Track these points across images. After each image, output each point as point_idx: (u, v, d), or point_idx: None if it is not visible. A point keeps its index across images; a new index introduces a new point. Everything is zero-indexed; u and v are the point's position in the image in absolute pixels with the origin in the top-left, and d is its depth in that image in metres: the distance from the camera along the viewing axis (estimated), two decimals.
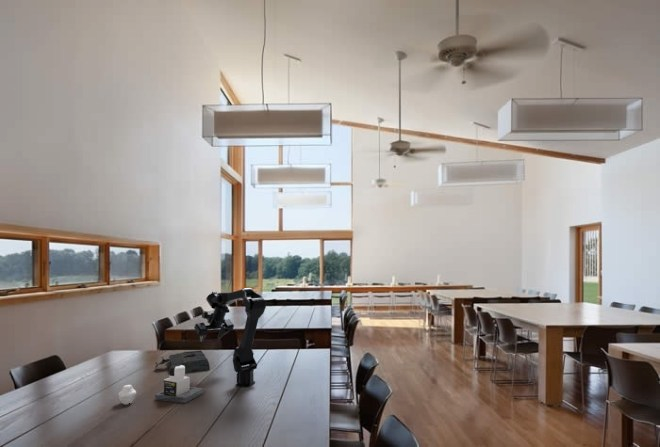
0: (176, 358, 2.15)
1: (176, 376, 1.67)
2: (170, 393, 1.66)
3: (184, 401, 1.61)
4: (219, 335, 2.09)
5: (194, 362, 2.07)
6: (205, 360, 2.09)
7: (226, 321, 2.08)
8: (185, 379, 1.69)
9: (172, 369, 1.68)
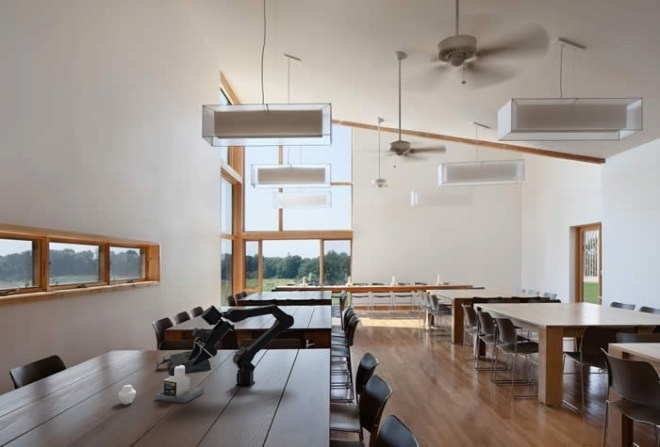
0: (177, 358, 2.15)
1: (176, 376, 1.67)
2: (170, 393, 1.66)
3: (184, 401, 1.61)
4: (192, 356, 1.78)
5: None
6: (206, 360, 2.10)
7: None
8: (185, 379, 1.69)
9: (172, 369, 1.68)
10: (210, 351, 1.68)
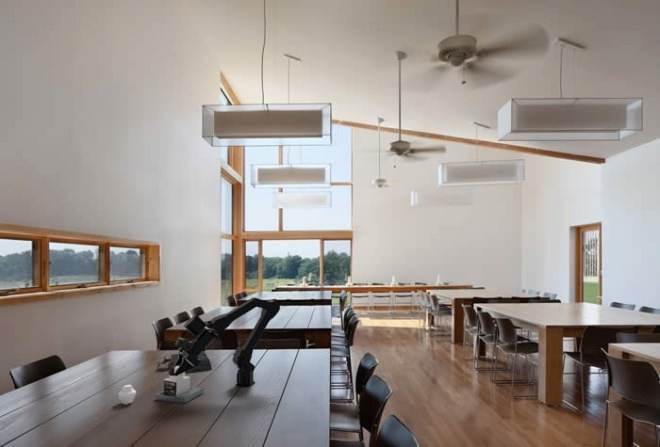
0: None
1: (176, 376, 1.67)
2: (170, 393, 1.66)
3: (184, 401, 1.61)
4: None
5: None
6: (207, 360, 2.10)
7: None
8: (185, 379, 1.69)
9: (172, 369, 1.68)
10: (193, 362, 1.65)
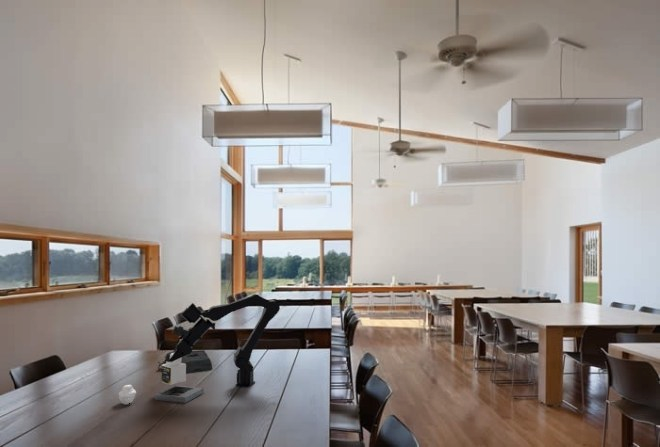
0: None
1: (171, 362, 1.72)
2: (166, 378, 1.72)
3: (184, 401, 1.61)
4: None
5: (196, 362, 2.07)
6: (207, 360, 2.10)
7: None
8: (180, 365, 1.74)
9: (168, 355, 1.73)
10: (184, 349, 1.68)
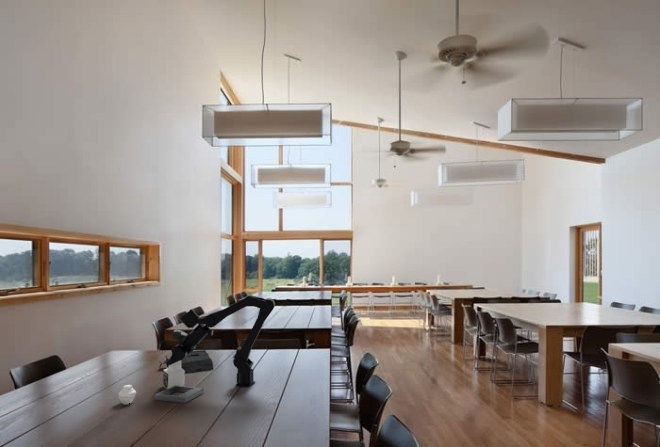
0: None
1: (170, 368, 1.80)
2: (165, 383, 1.80)
3: (184, 401, 1.61)
4: None
5: (198, 361, 2.08)
6: (208, 360, 2.10)
7: None
8: (179, 372, 1.80)
9: (167, 361, 1.81)
10: (177, 354, 1.74)
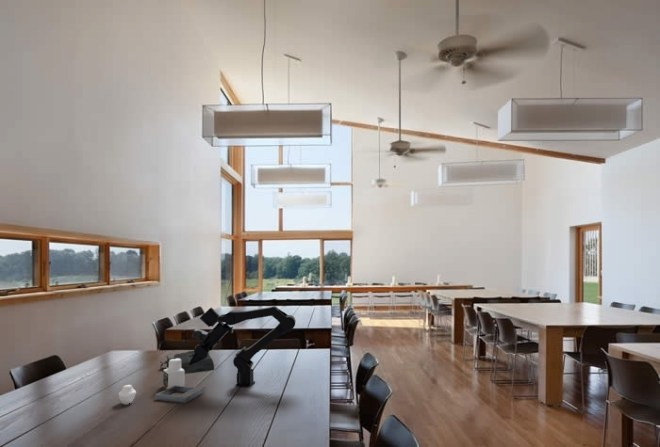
0: (181, 357, 2.16)
1: (170, 368, 1.80)
2: (165, 383, 1.80)
3: (184, 401, 1.61)
4: None
5: None
6: (209, 359, 2.10)
7: None
8: (179, 372, 1.80)
9: (167, 361, 1.81)
10: (200, 353, 1.75)
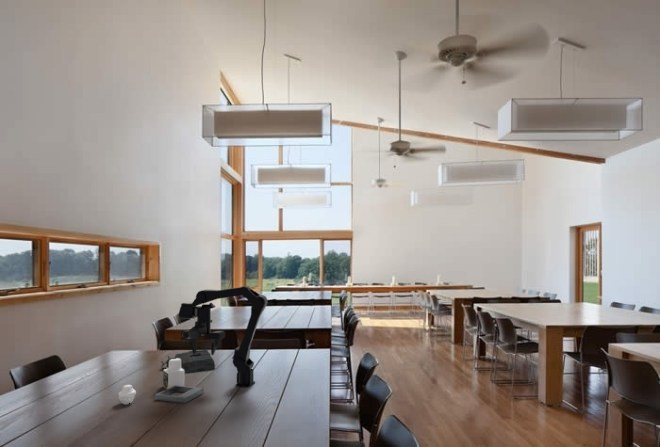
0: (182, 357, 2.17)
1: (170, 368, 1.80)
2: (165, 383, 1.80)
3: (184, 401, 1.61)
4: (195, 348, 1.87)
5: (199, 361, 2.08)
6: (210, 359, 2.11)
7: None
8: (179, 372, 1.80)
9: (167, 361, 1.81)
10: (222, 336, 1.83)
